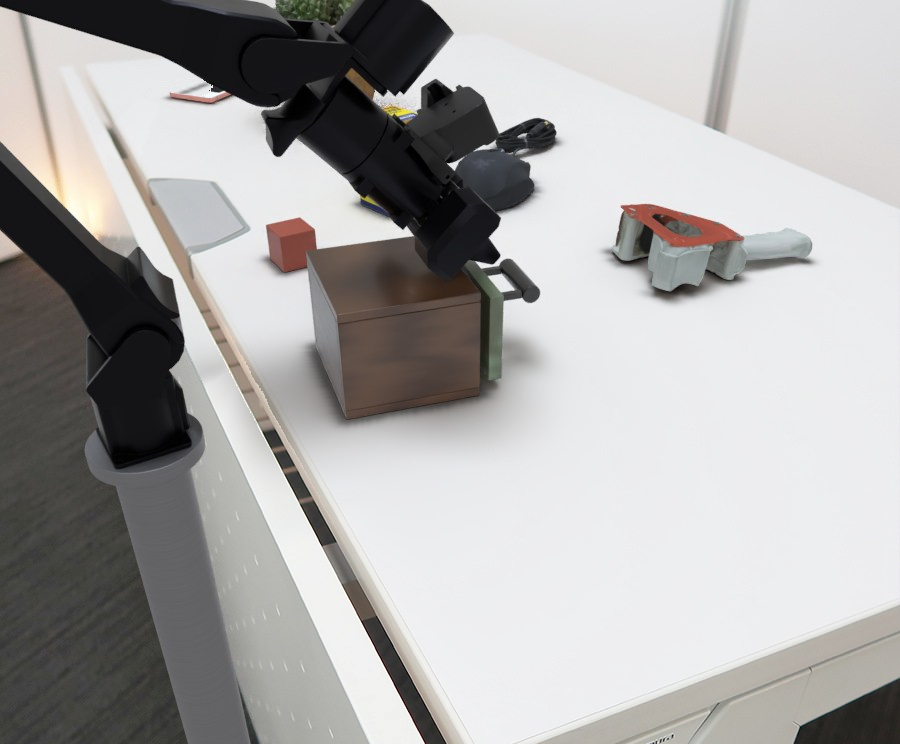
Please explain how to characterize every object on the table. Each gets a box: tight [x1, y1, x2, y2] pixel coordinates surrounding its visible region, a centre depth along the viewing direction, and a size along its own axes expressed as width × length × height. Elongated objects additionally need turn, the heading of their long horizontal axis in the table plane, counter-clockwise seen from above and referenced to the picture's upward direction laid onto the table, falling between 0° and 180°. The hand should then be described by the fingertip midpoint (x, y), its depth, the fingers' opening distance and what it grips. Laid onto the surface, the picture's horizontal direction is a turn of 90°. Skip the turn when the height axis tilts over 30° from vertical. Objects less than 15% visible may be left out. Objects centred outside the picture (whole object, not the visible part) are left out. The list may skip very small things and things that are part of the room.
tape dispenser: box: [610, 203, 813, 292], centre depth 97 cm, size 18×5×20 cm
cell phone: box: [169, 85, 232, 103], centre depth 158 cm, size 9×18×1 cm, turn 154°
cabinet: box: [306, 235, 481, 420], centre depth 79 cm, size 12×13×10 cm
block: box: [265, 216, 318, 273], centre depth 99 cm, size 4×4×4 cm
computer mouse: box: [454, 117, 558, 212], centre depth 122 cm, size 10×32×6 cm, turn 163°
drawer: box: [461, 258, 541, 381], centre depth 80 cm, size 15×11×8 cm
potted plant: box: [272, 0, 376, 101], centre depth 134 cm, size 18×19×25 cm
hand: (495, 258), depth 79 cm, fingers closed
